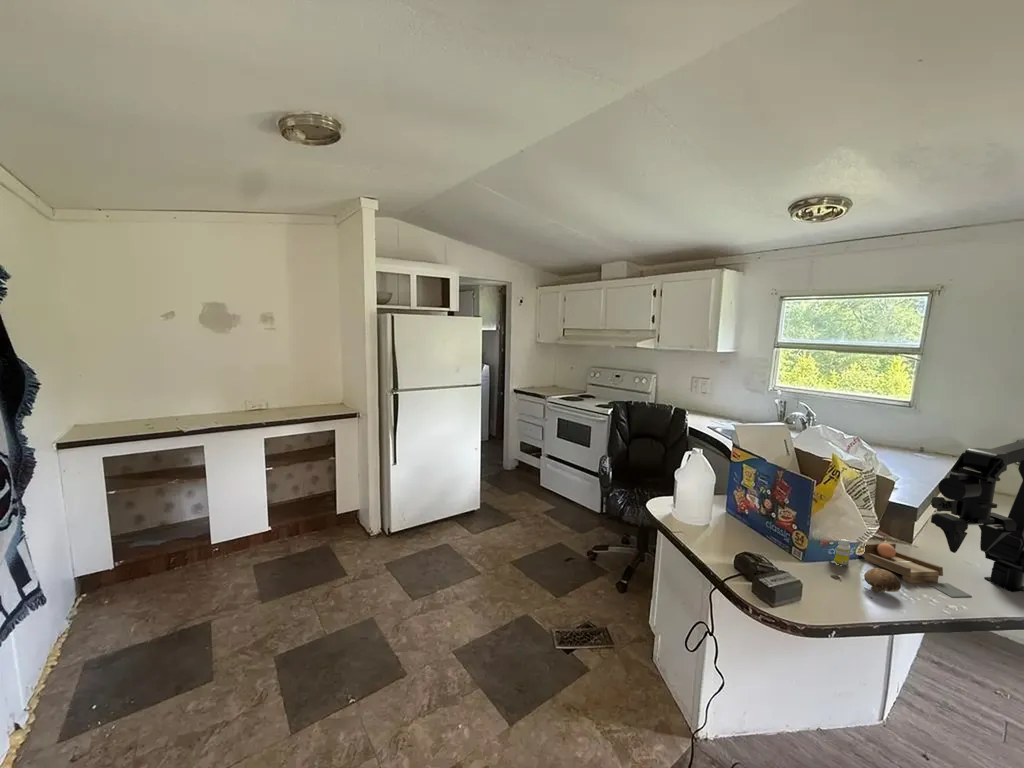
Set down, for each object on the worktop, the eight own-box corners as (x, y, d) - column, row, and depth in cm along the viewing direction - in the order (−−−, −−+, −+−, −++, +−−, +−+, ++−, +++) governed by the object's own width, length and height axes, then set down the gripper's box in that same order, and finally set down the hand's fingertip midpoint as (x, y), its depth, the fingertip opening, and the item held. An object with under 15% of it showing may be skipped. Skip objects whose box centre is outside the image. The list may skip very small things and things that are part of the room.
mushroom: (854, 584, 121) (857, 563, 120) (883, 585, 120) (886, 564, 120) (877, 601, 113) (880, 579, 112) (908, 603, 112) (911, 580, 112)
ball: (887, 540, 135) (900, 547, 131) (884, 553, 136) (898, 561, 131) (874, 540, 134) (887, 548, 130) (872, 553, 135) (885, 561, 131)
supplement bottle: (829, 557, 135) (832, 532, 134) (848, 563, 132) (851, 537, 131) (828, 564, 131) (831, 538, 130) (848, 569, 128) (851, 543, 127)
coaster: (947, 584, 122) (947, 582, 121) (971, 597, 116) (971, 595, 116) (928, 584, 121) (928, 583, 121) (951, 598, 115) (951, 596, 115)
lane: (889, 555, 137) (891, 541, 137) (941, 584, 122) (944, 568, 121) (858, 556, 136) (860, 542, 136) (906, 585, 121) (908, 569, 120)
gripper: (973, 485, 123) (965, 536, 125) (914, 486, 121) (907, 538, 123) (1022, 500, 112) (1012, 556, 114) (958, 501, 110) (949, 558, 112)
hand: (968, 551), depth 116 cm, fingers open, 9 cm apart
